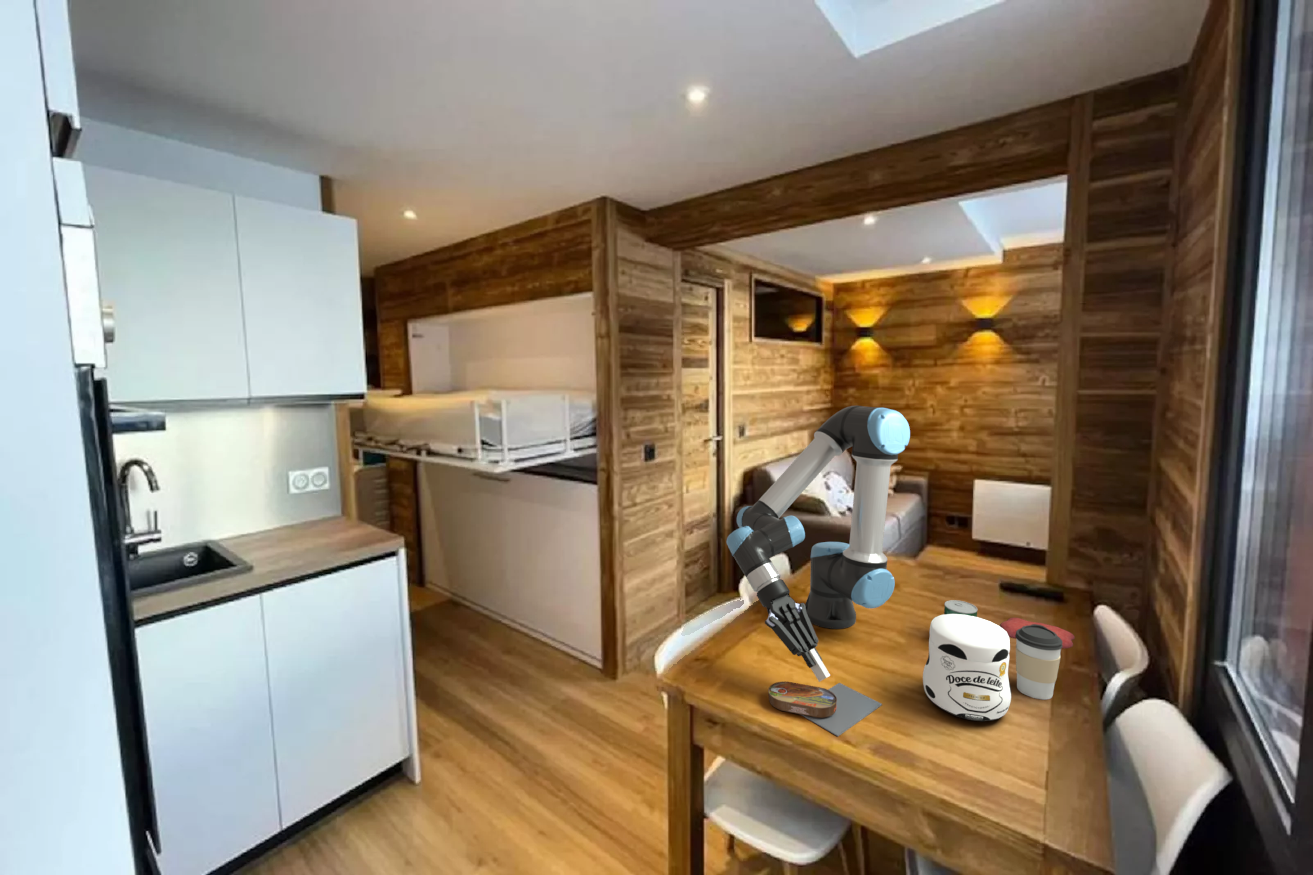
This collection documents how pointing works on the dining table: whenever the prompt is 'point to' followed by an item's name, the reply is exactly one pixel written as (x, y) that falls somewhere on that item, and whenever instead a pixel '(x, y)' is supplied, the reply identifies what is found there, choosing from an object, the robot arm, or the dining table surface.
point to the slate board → (846, 710)
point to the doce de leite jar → (968, 667)
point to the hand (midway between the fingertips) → (824, 678)
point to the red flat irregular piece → (1018, 623)
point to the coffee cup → (1037, 660)
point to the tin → (802, 699)
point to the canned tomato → (960, 608)
